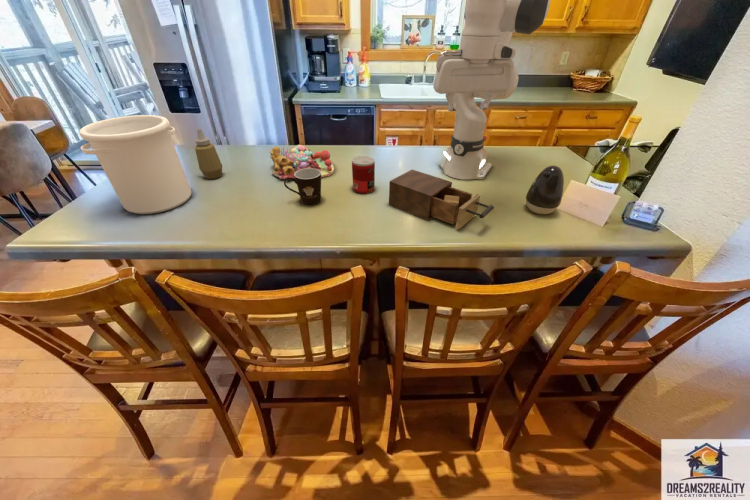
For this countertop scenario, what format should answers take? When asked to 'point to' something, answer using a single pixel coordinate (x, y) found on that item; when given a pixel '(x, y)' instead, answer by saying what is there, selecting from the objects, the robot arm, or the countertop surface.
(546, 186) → the dark egg ornament
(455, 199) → the block
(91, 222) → the countertop surface
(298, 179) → the coffee mug
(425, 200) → the cabinet
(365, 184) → the canned food
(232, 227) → the countertop surface
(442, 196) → the drawer
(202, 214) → the countertop surface
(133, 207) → the bucket
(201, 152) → the squeeze bottle
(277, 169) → the candy landscape model
